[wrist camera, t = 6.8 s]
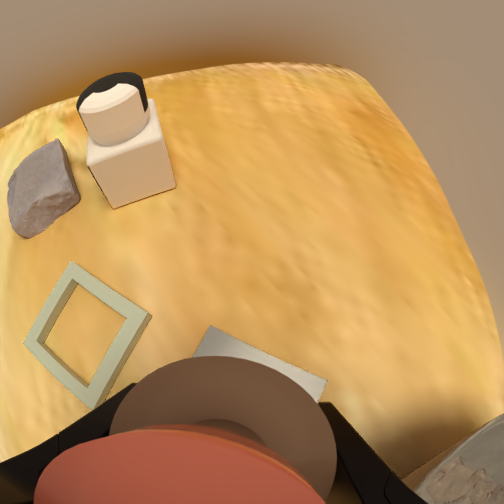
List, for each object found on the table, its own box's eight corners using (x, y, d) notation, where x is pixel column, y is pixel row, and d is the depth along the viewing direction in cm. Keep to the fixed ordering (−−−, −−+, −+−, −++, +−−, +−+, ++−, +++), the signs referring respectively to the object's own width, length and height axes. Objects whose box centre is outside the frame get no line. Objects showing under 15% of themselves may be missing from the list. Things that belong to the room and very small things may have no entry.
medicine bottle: (108, 164, 30) (72, 82, 19) (165, 145, 31) (144, 56, 20) (112, 211, 27) (62, 122, 16) (177, 188, 28) (151, 89, 18)
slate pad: (268, 487, 16) (268, 489, 16) (152, 431, 18) (150, 431, 18) (325, 380, 21) (327, 380, 20) (211, 326, 22) (210, 325, 22)
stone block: (33, 254, 27) (89, 198, 28) (5, 238, 22) (63, 175, 23) (23, 195, 31) (70, 148, 32) (2, 179, 27) (51, 127, 28)
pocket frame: (99, 410, 19) (92, 410, 18) (30, 346, 20) (23, 343, 19) (152, 316, 22) (147, 312, 21) (77, 265, 24) (71, 260, 23)
